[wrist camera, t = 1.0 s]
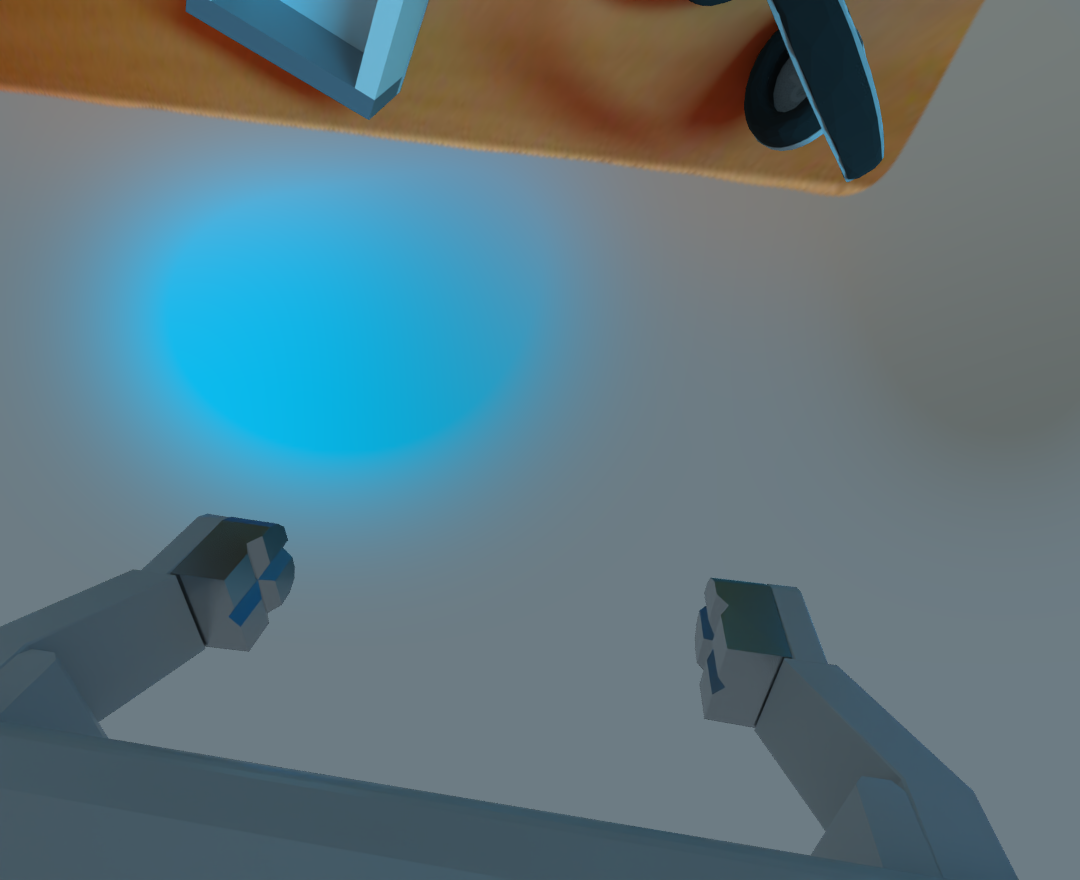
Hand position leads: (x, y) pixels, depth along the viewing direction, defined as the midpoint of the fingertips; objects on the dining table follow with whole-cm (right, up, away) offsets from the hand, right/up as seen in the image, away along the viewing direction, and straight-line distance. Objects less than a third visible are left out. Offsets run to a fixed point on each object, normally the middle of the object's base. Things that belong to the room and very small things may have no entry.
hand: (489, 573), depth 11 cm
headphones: (+17, +34, +30) cm, 49 cm away
